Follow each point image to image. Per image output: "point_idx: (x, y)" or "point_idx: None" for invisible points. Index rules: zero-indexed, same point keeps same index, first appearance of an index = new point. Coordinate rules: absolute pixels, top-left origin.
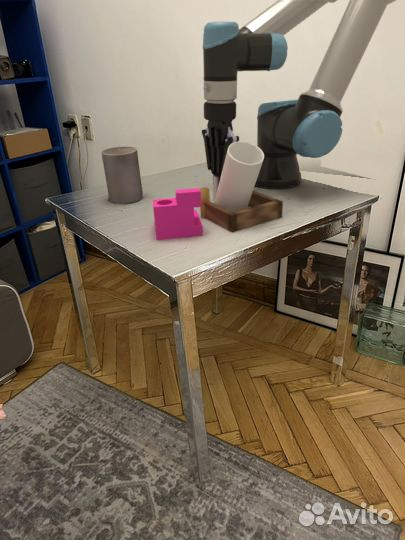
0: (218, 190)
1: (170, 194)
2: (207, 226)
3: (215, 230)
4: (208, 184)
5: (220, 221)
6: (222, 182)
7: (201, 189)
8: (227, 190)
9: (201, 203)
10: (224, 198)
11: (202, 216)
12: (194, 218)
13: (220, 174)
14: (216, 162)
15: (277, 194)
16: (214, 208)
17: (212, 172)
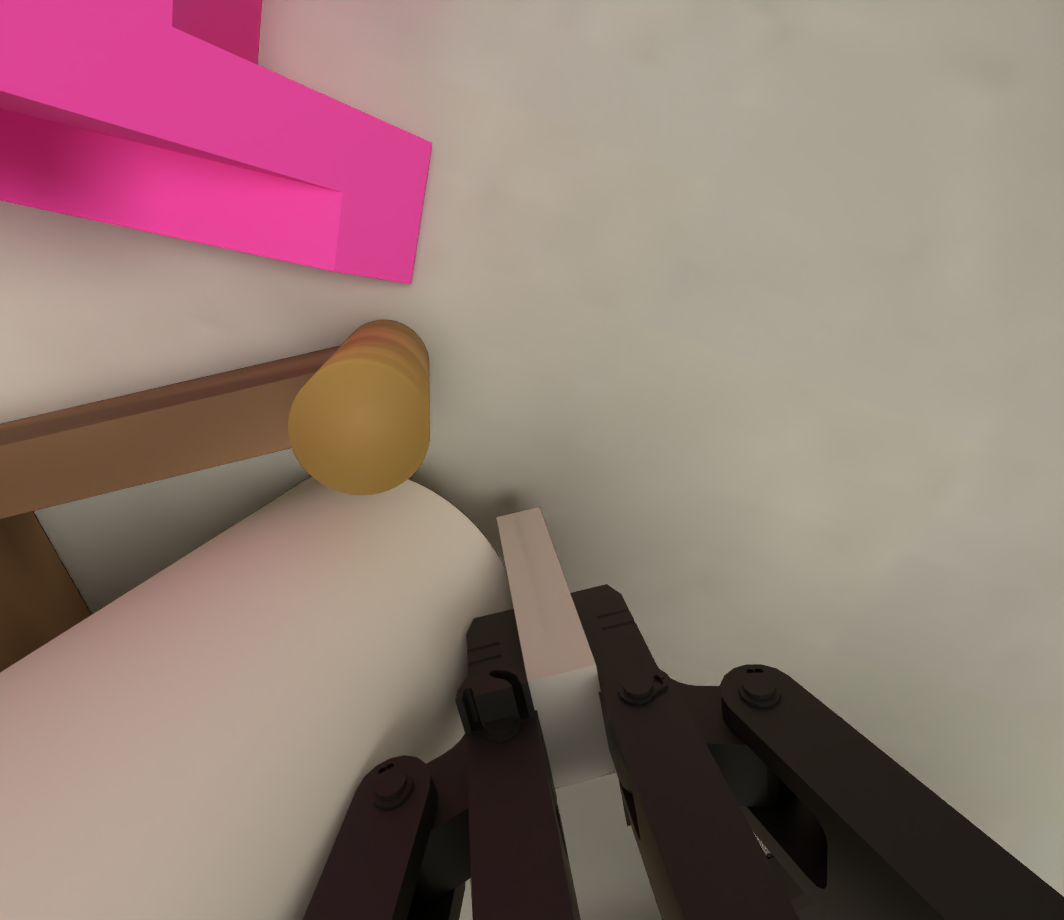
0: (259, 575)
1: (1054, 258)
2: (132, 295)
3: (7, 328)
4: (1042, 602)
5: (69, 412)
6: (42, 686)
7: (353, 388)
8: (19, 660)
9: (348, 342)
10: (158, 573)
11: (359, 327)
12: (55, 150)
13: (469, 750)
14: (656, 867)
15: (593, 907)
16: (117, 415)
17: (625, 682)
